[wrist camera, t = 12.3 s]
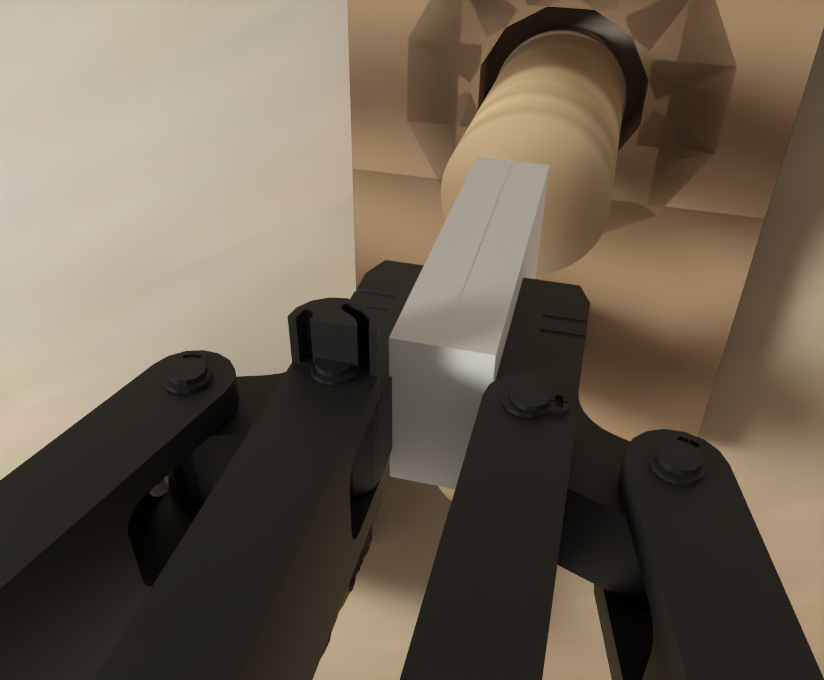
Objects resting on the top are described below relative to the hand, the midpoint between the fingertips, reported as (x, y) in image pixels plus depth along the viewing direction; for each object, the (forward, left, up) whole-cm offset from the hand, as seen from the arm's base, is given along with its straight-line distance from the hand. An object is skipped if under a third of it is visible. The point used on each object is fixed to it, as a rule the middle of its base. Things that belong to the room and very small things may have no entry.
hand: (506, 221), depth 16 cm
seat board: (+3, 0, -12) cm, 13 cm away
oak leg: (0, 0, -12) cm, 12 cm away
